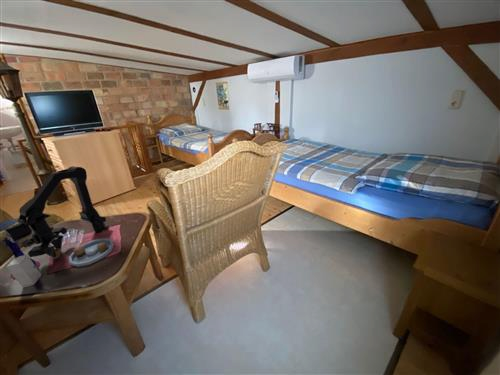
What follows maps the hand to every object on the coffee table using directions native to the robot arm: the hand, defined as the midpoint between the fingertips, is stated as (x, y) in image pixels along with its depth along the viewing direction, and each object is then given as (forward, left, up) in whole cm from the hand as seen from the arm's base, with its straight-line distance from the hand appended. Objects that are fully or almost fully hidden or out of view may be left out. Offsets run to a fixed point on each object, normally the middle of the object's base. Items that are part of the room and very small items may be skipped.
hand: (57, 254), depth 104 cm
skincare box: (+15, -2, -1) cm, 15 cm away
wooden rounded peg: (+4, +23, 0) cm, 24 cm away
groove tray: (+4, +18, -1) cm, 18 cm away
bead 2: (+4, +13, 0) cm, 13 cm away
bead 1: (0, 0, -1) cm, 1 cm away
